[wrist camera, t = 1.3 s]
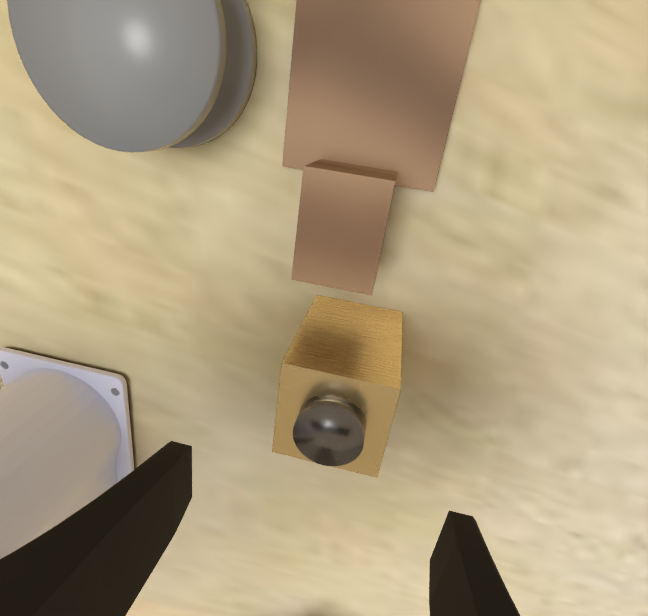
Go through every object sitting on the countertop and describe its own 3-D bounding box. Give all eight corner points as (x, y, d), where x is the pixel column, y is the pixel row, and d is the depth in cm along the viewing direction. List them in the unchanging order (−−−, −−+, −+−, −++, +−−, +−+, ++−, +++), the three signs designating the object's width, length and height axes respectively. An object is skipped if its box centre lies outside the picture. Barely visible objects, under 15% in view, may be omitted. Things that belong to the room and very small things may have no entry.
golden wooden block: (384, 383, 20) (375, 494, 14) (307, 366, 21) (265, 467, 15) (402, 312, 19) (400, 404, 12) (316, 295, 19) (274, 376, 13)
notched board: (412, 271, 18) (413, 303, 15) (279, 246, 18) (252, 271, 15) (524, -186, 12) (567, -300, 9) (319, -200, 12) (289, -310, 9)
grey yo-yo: (251, 159, 17) (214, 167, 14) (97, 133, 18) (28, 135, 15) (263, -56, 14) (220, -110, 11) (77, -76, 15) (-16, -132, 12)
